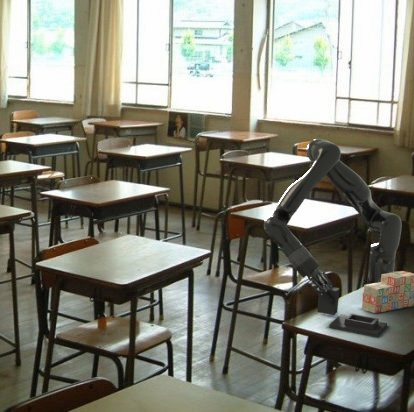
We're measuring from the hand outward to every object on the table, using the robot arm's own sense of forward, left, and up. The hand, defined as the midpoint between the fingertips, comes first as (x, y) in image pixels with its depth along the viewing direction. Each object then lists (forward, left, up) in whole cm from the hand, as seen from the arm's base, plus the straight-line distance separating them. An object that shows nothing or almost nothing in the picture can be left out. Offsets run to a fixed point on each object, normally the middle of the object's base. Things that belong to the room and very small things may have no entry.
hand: (333, 299), depth 308 cm
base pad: (+6, +11, -6) cm, 14 cm away
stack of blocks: (-23, +14, -6) cm, 28 cm away
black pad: (0, -2, -5) cm, 5 cm away
